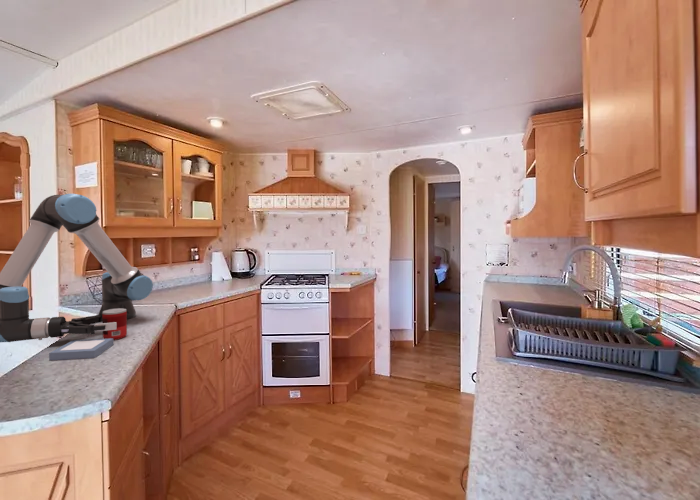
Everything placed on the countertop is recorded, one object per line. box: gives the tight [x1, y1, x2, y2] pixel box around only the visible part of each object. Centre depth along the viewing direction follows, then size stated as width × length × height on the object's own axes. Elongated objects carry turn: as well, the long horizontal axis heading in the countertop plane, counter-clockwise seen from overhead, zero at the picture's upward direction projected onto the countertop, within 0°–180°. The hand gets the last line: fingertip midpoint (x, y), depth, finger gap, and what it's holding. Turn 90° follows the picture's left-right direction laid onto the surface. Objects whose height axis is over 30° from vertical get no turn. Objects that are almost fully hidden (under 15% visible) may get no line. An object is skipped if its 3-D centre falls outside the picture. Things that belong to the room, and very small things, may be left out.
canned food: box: [102, 308, 128, 341], centre depth 130 cm, size 8×8×11 cm
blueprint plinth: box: [48, 338, 114, 361], centre depth 114 cm, size 13×13×3 cm
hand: (119, 321), depth 131 cm, fingers open, 13 cm apart
